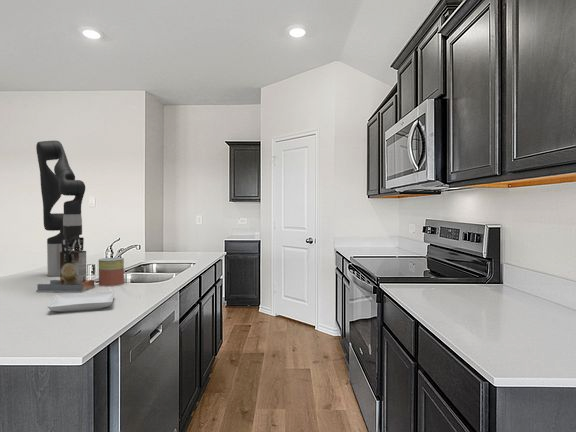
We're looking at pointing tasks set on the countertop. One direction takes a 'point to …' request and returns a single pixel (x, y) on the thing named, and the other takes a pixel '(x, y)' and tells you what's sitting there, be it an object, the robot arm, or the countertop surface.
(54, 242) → the robot arm
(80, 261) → the coffee box
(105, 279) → the canned food
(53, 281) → the gray orange tray
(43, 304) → the countertop surface
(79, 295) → the salad plate
